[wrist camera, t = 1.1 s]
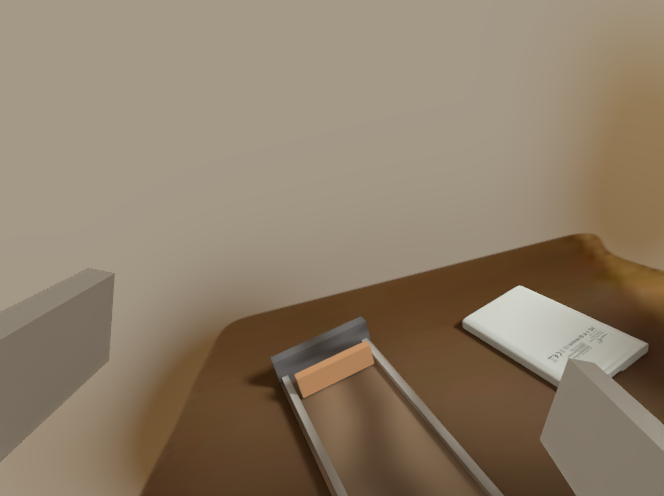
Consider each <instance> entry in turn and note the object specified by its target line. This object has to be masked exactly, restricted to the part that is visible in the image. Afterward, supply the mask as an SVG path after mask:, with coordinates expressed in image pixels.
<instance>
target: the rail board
mask: <svg viewBox="0 0 664 496" xmlns="http://www.w3.org/2000/svg"><path fill="white" fill-rule="evenodd" d="M364 341H367V342H368V343H369V345H370V347H371V351H372V356H373V360H374V364H373V365H371V366H369V367H367V368H364V369H362V370H360V371H358V372H356V373H354V374H352V375H350V376H348V377H346V378H344V379H342V380H340V381H338V382H336V383H334V384H332V385H330V386H328V387H326V388H324V389H322V390H320V391H317V392H315V393H313V394H311V395H309V396H307V397H305V398H303V396H302V394H301V392H300V390H299V387H298V384H297V381H296V378H295V375H294V374H296V373H298V372H300V371H302V370H304V369H307V368H309V367H311V366H313V365H315V364H317V363H319V362H321V361H324V360H326V359H328V358H330V357H332V356H334V355H336V354H338V353H341V352H343V351H345V350H347V349H349V348H351V347H353V346H355V345H358V344H360V343H362V342H364ZM270 359H271V361H272V364H273V367H274V369H275V372H276V375H277V377H278V380H279V383H280V385H281V387H282V389H283V391H284V393H285V396H286V398H287V400H288V402H289V404H290V406H291V409H292V411H293V413H294V415H295V417H296V419H297V422H298V424H299V426H300V428H301V430H302V432H303V435H304V437H305V439H306V441H307V443H308V446H309V448H310V450H311V452H312V454H313V456H314V459H315V461H316V463H317V465H318V467H319V469H320V472H321V474H322V476H323V478H324V480H325V482H326V485H327V487H328V489H329V491H330V493H331V496H505V495H504V494H503V493H502V492H501V490H500V489H499V488H498V487H497V486H496V485H495V484H494V482H493V481H492V480H491V479H490V478H489V477H488V476H487V474H486V473H485V472H484V471H483V470H482V469H481V467H480V466H479V465H478V464H477V463H476V462H475V461H474V459H473V458H472V457H471V456H470V455H469V454H468V453H467V451H466V450H465V449H464V448H463V447H462V446H461V444H460V443H459V442H458V441H457V440H456V439H455V438H454V436H453V435H452V434H451V433H450V432H449V431H448V430H447V428H446V427H445V426H444V425H443V424H442V423H441V422H440V420H439V419H438V418H437V417H436V416H435V415H434V413H433V412H432V411H431V410H430V409H429V408H428V407H427V405H426V404H425V403H424V402H423V401H422V400H421V399H420V397H419V396H418V395H417V394H416V393H415V392H414V390H413V389H412V388H411V387H410V386H409V385H408V384H407V382H406V381H405V380H404V379H403V378H402V377H401V376H400V374H399V373H398V372H397V371H396V370H395V369H394V368H393V366H392V365H391V364H390V363H389V362H388V361H387V359H386V358H385V357H384V356H383V355H382V354H381V353H380V351H379V350H378V349H377V348H376V347H375V346H374V345H373V343H372V342H371V341H370V336H369V332H368V328H367V323H366V321H365V320H364V319H363V317H362V316H361V317H359V318H356V319H354V320H352V321H350V322H348V323H345V324H343V325H341V326H339V327H337V328H334V329H332V330H330V331H328V332H326V333H323V334H321V335H319V336H317V337H315V338H312V339H310V340H308V341H306V342H304V343H301V344H299V345H297V346H295V347H292V348H290V349H288V350H286V351H284V352H281V353H279V354H277V355H275V356H273V357H270Z"/></svg>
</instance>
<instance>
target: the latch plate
mask: <svg viewBox="0 0 664 496" xmlns="http://www.w3.org/2000/svg"><path fill="white" fill-rule="evenodd" d="M373 364H374V360H373V356H372V351H371V347H370V345H369V343H368V342H367V341H364V342H362V343H360V344H358V345H355V346H353V347H351V348H349V349H347V350H345V351H343V352H341V353H338V354H336V355H334V356H332V357H330V358H328V359H326V360H324V361H321V362H319V363H317V364H315V365H313V366H311V367H309V368H307V369H304V370H302V371H300V372H298V373H296V374H294V375H295V378H296V381H297V384H298V387H299V390H300V392H301V394H302V396H303V398H305V397H307V396H309V395H311V394H313V393H315V392H317V391H320V390H322V389H324V388H326V387H328V386H330V385H332V384H334V383H336V382H338V381H340V380H342V379H344V378H346V377H348V376H350V375H352V374H354V373H356V372H358V371H360V370H362V369H364V368H367V367H369V366H371V365H373Z"/></svg>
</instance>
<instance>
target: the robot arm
mask: <svg viewBox="0 0 664 496" xmlns="http://www.w3.org/2000/svg"><path fill="white" fill-rule="evenodd" d="M114 276H115V274H114V273H110V272H105V271H100V270H94V269H89V268H88V269H85V270H83V271H81V272H79V273H77V274H75V275H73V276H71V277H69V278H67V279H65V280H63V281H61V282H60V283H57V284H55V285H53V286H51V287H49V288H47V289H45V290H43V291H41V292H39V293H37V294H35V295H33V296H31V297H29V298H27V299H25V300H23V301H21V302H19V303H17V304H15V305H13V306H11V307H9V308H7V309H5V310H3V311H1V312H0V462H1V461H2V460H3V459H4V458H5V457H6V456H7V455H8V454H9V453H10V452H11V451H12V450H13V449H14V448H15V447H17V446H18V445H19V444H20V443H21V442H22V441H23V440H24V439H25V438H26V437H27V436H28V435H29V434H30V433H32V432H33V430H35V429H36V428H37V427H38V426H39V425H40V424H41V423H42V422H43V421H44V420H45V419H47V418H48V417H49V416H50V415H51V414H52V413H53V412H54V411H55V410H56V409H57V408H58V407H59V406H61V405H62V404H63V403H64V402H65V401H66V400H67V399H68V398H69V397H70V396H71V395H72V394H73V393H74V392H75V391H77V390H78V389H79V388H80V387H81V386H82V385H83V384H84V383H85V382H86V381H87V380H88V379H89V378H91V377H92V376H93V375H94V374H95V373H96V372H97V371H98V370H99V369H100V368H101V367H102V366H103V365H104V364H105V363H106V362H108V361H109V350H110V336H111V321H112V304H113V290H114ZM540 441H541V442H542V444H543V445H544V447H545V448H546V450H547V452H548V453H549V455H550V456H551V458H552V459H553V461H554V462H555V464H556V465H557V467H558V468H559V470H560V472H561V473H562V475H563V476H564V478H565V479H566V481H567V482H568V484H569V485H570V487H571V489H572V490H573V492H574V493H575V495H576V496H664V425H663V424H662V423H661V422H660V421H659V420H658V419H657V418H656V417H654V416H653V415H652V414H651V413H650V412H649V411H648V410H647V409H645V408H644V407H643V406H642V405H641V404H640V403H639V402H638V401H637V400H635V399H634V398H633V397H632V396H631V395H630V394H629V393H628V392H627V391H625V390H624V389H623V388H622V387H621V386H620V385H619V384H618V383H616V382H615V381H614V380H613V379H612V378H611V377H610V376H609V375H608V374H606V373H605V372H604V371H603V370H602V369H601V368H600V367H599V366H597V365H596V364H595V363H593V362H588V361H582V360H577V359H571V358H568V361H567V363H566V366H565V369H564V372H563V375H562V377H561V380H560V383H559V386H558V389H557V392H556V394H555V397H554V400H553V403H552V406H551V409H550V411H549V414H548V417H547V420H546V423H545V426H544V428H543V431H542V434H541V437H540Z"/></svg>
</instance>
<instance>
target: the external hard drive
mask: <svg viewBox="0 0 664 496" xmlns="http://www.w3.org/2000/svg"><path fill="white" fill-rule="evenodd" d="M462 324H463V328H464V329H465V330H467V331H469V332H470V333H472V334H473V335H475V336H477V337H478V338H480V339H481V340H483V341H485V342H486V343H488V344H489V345H491V346H493V347H494V348H496V349H497V350H499V351H501V352H502V353H504V354H505V355H507V356H508V357H510V358H512V359H513V360H515V361H516V362H518V363H520V364H521V365H523V366H524V367H526V368H528V369H529V370H531V371H532V372H534V373H535V374H537V375H539V376H540V377H542V378H543V379H545V380H547V381H548V382H550V383H551V384H553V385H555V386H556V387H558V386H559V383H560V380H561V377H562V375H563V372H564V369H565V366H566V363H567V361H568V358H571V359H577V360H582V361H588V362H593V363H595V364H596V365H597V366H599V367H600V368H601V369H602V370H603V371H604V372H605V373H606V374H608V375H609V376H610V377H611V378H612V377H613V376H614V375H616V374H617V373H618V372H619V371H624V370H625V369H626V368H628V367H629V366H630V365H631V364H633V363H634V362H635V361H636V360H638V359H639V358H640V357H642V356H643V355H644V354H645V353H647V352H648V345H649V344H648V343H645V342H643V341H641V340H639V339H637V338H635V337H632V336H630V335H628V334H626V333H623V332H621V331H619V330H617V329H615V328H613V327H611V326H608V325H606V324H604V323H602V322H600V321H597V320H595V319H593V318H591V317H588V316H587V315H584V314H582V313H580V312H578V311H576V310H573V309H571V308H569V307H567V306H565V305H562V304H560V303H558V302H556V301H554V300H552V299H549V298H547V297H545V296H543V295H540V294H538V293H536V292H534V291H532V290H529V289H527V288H525V287H523V286H517V287H515V288H513V289H512V290H510V291H508V292H507V293H505V294H503V295H502V296H500V297H499V298H497V299H495V300H494V301H492V302H490V303H489V304H487V305H485V306H484V307H482V308H480V309H479V310H477V311H475V312H474V313H472V314H470V315H469V316H467V317H466V318H465V319H463V321H462Z"/></svg>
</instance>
